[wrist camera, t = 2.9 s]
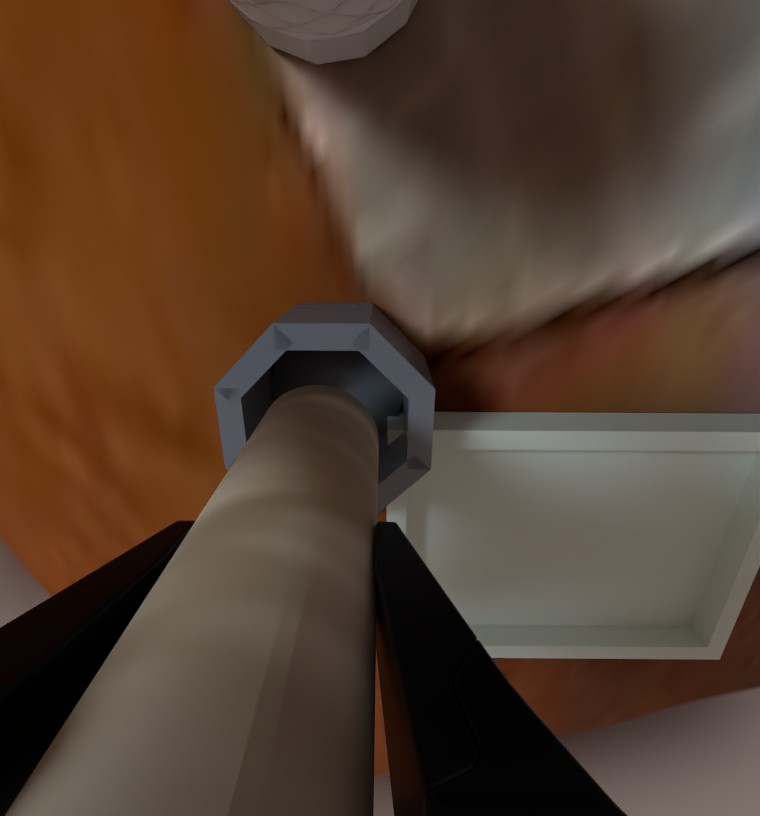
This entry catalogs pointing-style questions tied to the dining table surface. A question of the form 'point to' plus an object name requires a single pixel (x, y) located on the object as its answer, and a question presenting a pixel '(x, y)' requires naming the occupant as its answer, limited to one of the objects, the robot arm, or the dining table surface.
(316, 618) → the pin
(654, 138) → the dining table surface
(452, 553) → the tray
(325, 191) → the dining table surface
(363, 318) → the pen cup
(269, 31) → the white cup
